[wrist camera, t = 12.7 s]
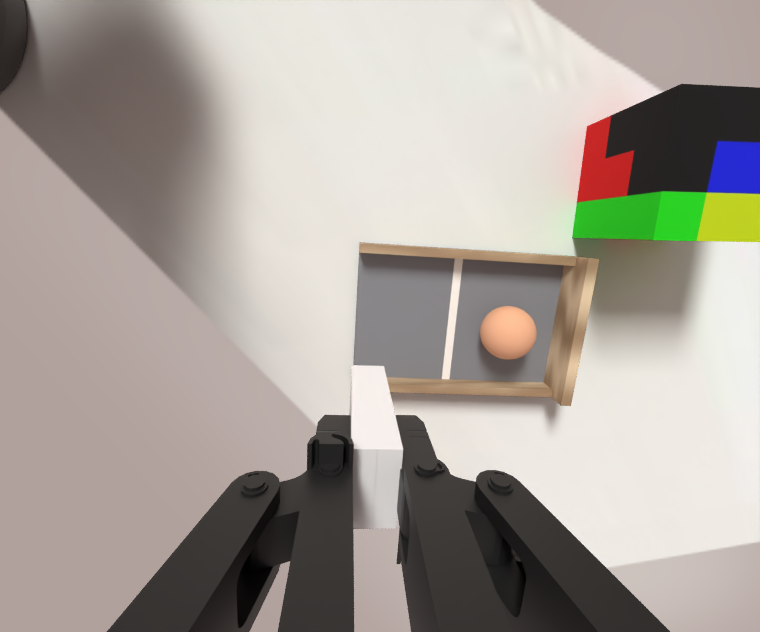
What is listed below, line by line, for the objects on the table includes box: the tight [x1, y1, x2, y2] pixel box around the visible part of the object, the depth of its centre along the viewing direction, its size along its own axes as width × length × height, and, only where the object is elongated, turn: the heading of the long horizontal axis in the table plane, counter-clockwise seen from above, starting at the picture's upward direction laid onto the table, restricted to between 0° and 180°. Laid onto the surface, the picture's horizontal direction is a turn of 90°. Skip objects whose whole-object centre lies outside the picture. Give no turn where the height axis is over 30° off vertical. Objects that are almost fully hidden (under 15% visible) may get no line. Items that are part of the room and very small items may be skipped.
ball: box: [480, 306, 537, 360], centre depth 34 cm, size 5×5×5 cm
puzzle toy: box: [572, 84, 760, 242], centre depth 30 cm, size 10×10×10 cm
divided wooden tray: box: [359, 243, 600, 406], centre depth 34 cm, size 14×21×4 cm, turn 86°
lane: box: [354, 243, 564, 383], centre depth 36 cm, size 14×21×1 cm, turn 86°
